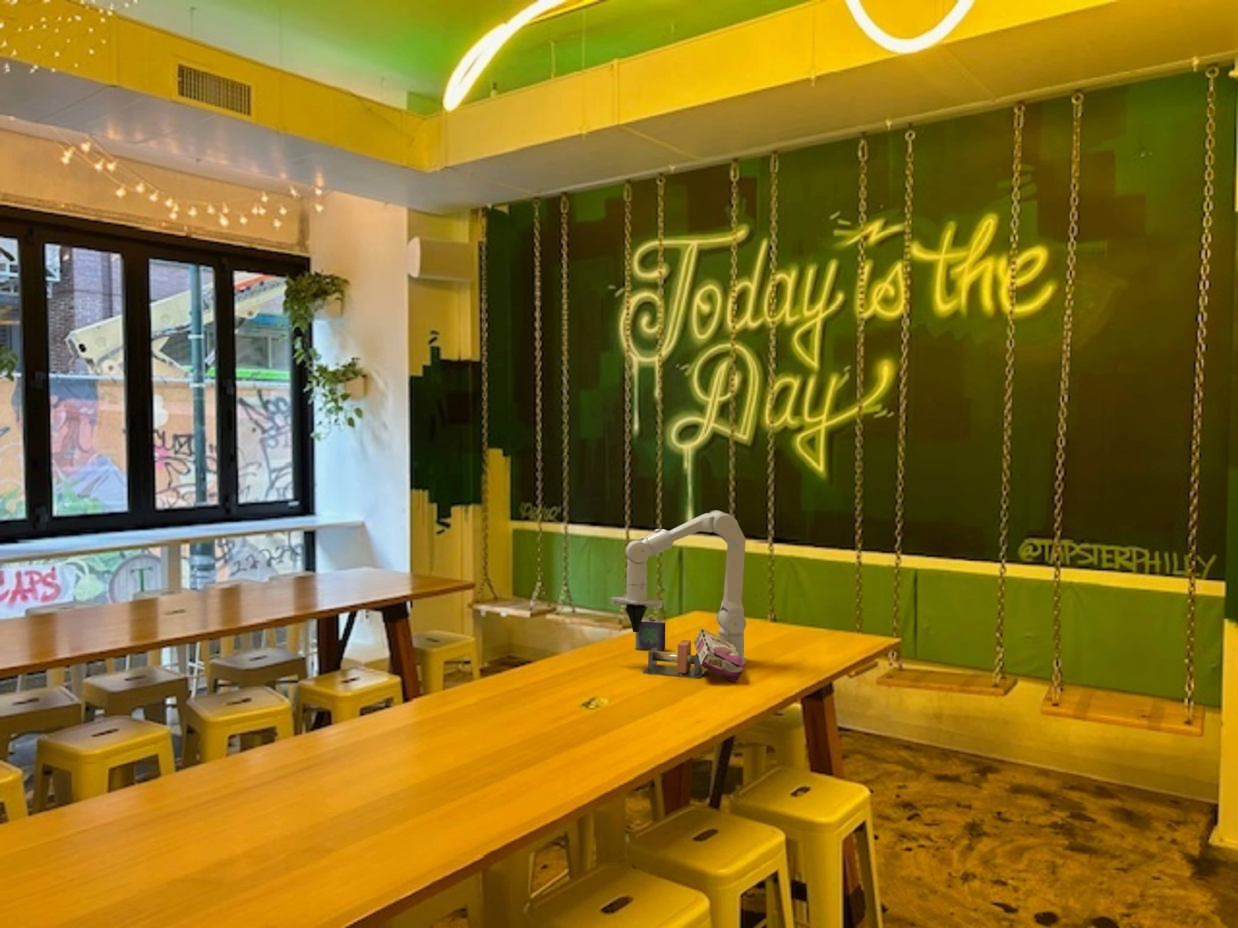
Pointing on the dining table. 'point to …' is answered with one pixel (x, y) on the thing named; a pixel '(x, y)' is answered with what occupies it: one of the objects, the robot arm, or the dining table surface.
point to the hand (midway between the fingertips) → (636, 631)
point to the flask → (651, 635)
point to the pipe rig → (672, 670)
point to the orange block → (683, 656)
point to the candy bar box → (718, 655)
